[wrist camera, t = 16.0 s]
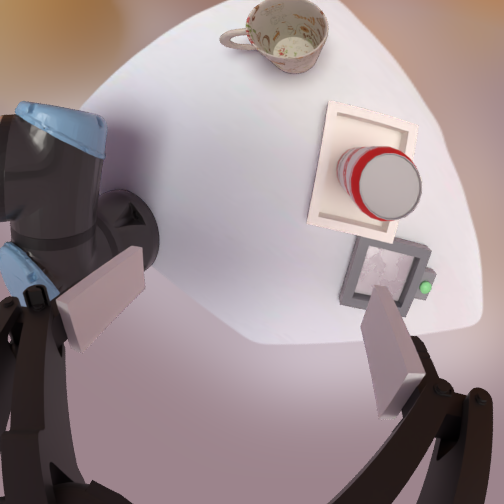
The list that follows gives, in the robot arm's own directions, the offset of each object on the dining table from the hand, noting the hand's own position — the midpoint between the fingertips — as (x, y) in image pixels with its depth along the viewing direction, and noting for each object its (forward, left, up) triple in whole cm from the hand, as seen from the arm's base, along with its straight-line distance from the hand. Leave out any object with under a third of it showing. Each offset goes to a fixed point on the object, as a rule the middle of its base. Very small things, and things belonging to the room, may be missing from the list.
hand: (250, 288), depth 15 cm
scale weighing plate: (+15, -7, -25) cm, 30 cm away
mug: (-5, +20, -24) cm, 32 cm away
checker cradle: (+16, -7, -24) cm, 30 cm away
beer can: (+8, +6, -24) cm, 26 cm away
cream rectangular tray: (+8, +6, -24) cm, 26 cm away
